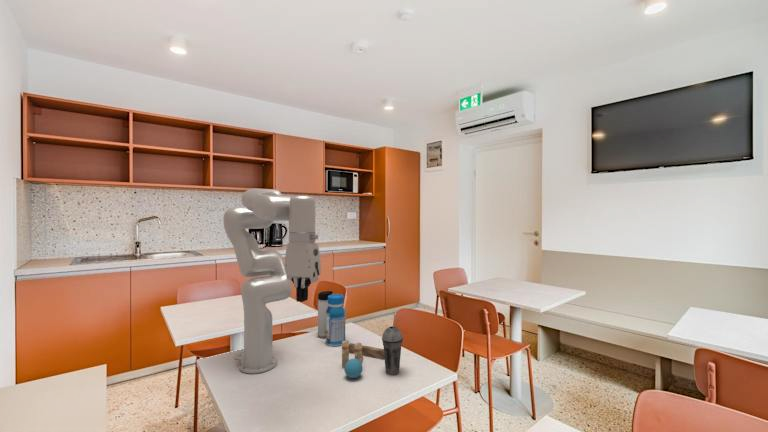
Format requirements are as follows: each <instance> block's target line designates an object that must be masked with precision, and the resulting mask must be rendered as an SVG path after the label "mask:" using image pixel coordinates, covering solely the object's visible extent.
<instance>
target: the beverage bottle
mask: <svg viewBox="0 0 768 432" xmlns="http://www.w3.org/2000/svg"><path fill="white" fill-rule="evenodd" d="M344 301H345V296H344V295H343V294H341V293H340V294H339V293H332V295H329V296H328V304H329V306H328V308H327V310H326V314H327V316H326V338H325V343H326V345H327V346H331V347H339V346H342V341H345V340H346V320H347V315H346V308H345V306H344V303H345V302H344Z"/></svg>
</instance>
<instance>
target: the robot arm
mask: <svg viewBox="0 0 768 432" xmlns="http://www.w3.org/2000/svg"><path fill="white" fill-rule="evenodd" d="M241 204H242V205H243V206H235V207H231V208H228V209H227V210H226V211H225V212H224V214H223V221H222V222H223V228H224V231H225V234H226V236H227V238H228V239H229V241H230V243H231V244H232V247H233V249H234V254H235V258H236V262H237V264H238V269H239V271H240V274H241V276H243V277H245V278H249V279H247V280H246V281H244V282H243V284H242V285H241V287H240V293H241V299H242V306H243V327H244V329H243V330H244V331H243V332H244V333H243V335H244V336H243V347H244V348H243V351H236V352H235V356H234V360H235V361H240V363H239V367H238V368H239V369H238V370H240V371H241V372H242V373H244V374H249V375H250V374H251V375H252V374H253V375H255V374H259V373H260V374H261V373H264V372H265V373H266V372H267V371H270V370H272V369H273V368H275V367H276V366H277V364H278V359H277V358H276V357H275V356H273V313H272V312H271V310H270V309H269V308H268V307H267V304H271V303H274V302H275V303H276V302H280V301H284V300H287V299H288V298H290V296H291V295H292V293H293V292H292V291H293V288H292V287H293V286H294V288H296V293H295V294H296V297H295V298H296V299H295V300H296V302H300V303H303V302H305V301H308V299H309V287H310V286H311V284H312V283H317V282H319V281H320V280H319V276H320V275H321V274H322V263H321V262H322V261H321V252H320V247H319V244H318V242H316V240H319V235H318V234H316V200H315V198H314V197H313V196H310V195H309V196H307V195H295V196H294V195H293V196H290V195H283V193H282V192H281V191H280V190H278V189H274V188H273V189H272V188H271V189H270V188H258V187H257V188H256V187H255V188H254V187H253V188H250V189H247V190H245V192H243V194H242V196H241ZM277 221H279V222H281V221H282V222H283V221H285V222H287V221H288V242H287V244H286V248H285V249H286V250H285V257H283V256H282V254H281V252H279V251H277V250H273V249H270V250H262V249H260V247H259V244H258V241H257V239H256V238H255V237H254V235H252V234H251V233H250V232H248V231H247V230H248V229H249V230H252V229H254V230H255V229H266V228H267V229H268V228H270V227H271V226H272V224H273V223H274V222H277ZM292 284H293V286H292Z"/></svg>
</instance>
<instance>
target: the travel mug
mask: <svg viewBox="0 0 768 432" xmlns="http://www.w3.org/2000/svg"><path fill="white" fill-rule="evenodd" d="M332 294H334V293H333V291H332V290H326V291H325V290H323V291H320V292H319V293H317V337H318V338H320V339H326V316H327V314H326V310H327V308H328V306H329V304H328V296H329V295H332Z"/></svg>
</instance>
